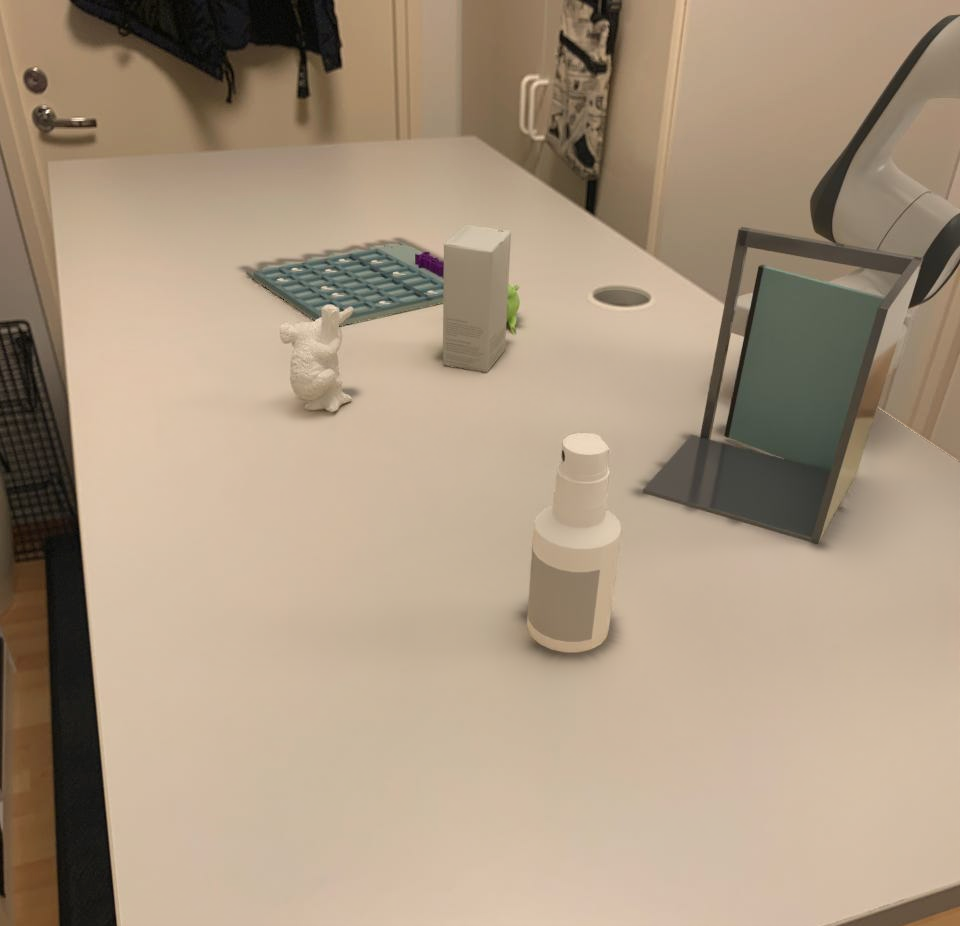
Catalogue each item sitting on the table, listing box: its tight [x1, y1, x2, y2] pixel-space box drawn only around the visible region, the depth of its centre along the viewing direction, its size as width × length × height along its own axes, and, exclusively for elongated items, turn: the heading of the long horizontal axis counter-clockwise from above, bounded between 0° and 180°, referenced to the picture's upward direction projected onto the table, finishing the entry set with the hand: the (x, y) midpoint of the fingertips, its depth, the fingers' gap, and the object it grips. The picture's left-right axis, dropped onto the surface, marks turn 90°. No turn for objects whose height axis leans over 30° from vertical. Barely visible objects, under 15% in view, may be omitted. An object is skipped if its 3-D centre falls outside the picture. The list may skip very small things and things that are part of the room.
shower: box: [642, 226, 923, 545], centre depth 91 cm, size 18×16×24 cm
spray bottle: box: [526, 432, 623, 653], centre depth 74 cm, size 7×7×18 cm
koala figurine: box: [279, 304, 354, 413], centre depth 109 cm, size 8×7×12 cm
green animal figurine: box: [506, 283, 521, 334], centre depth 132 cm, size 6×5×6 cm
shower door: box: [723, 264, 885, 471], centre depth 100 cm, size 14×6×19 cm, turn 47°
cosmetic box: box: [442, 224, 512, 373], centre depth 119 cm, size 8×7×16 cm
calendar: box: [245, 241, 444, 327], centre depth 145 cm, size 27×28×2 cm
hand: (776, 350), depth 103 cm, fingers closed on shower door, 2 cm apart
